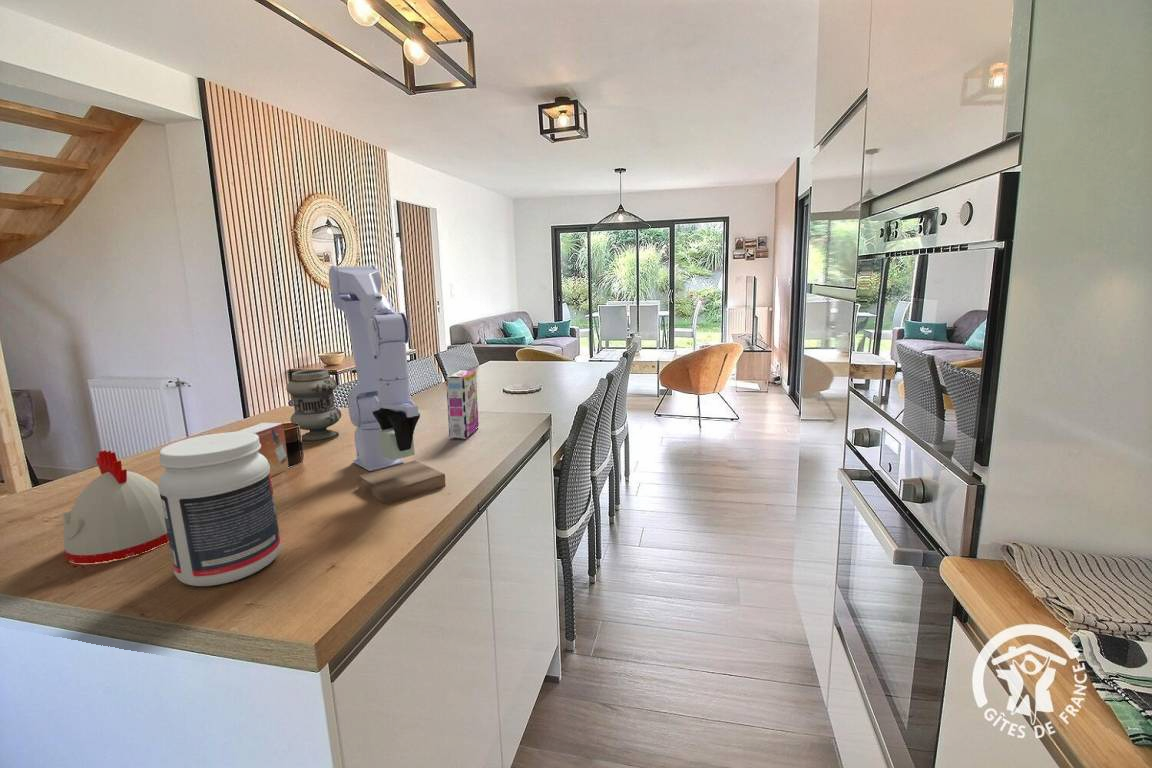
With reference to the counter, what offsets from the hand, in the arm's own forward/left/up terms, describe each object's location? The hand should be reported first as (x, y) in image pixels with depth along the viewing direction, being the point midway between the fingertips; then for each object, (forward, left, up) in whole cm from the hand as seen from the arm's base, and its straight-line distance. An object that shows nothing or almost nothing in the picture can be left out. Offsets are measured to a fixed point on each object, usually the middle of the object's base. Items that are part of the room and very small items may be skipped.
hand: (399, 447), depth 102 cm
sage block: (0, 0, -2) cm, 2 cm away
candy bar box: (-23, +29, -8) cm, 38 cm away
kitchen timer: (-11, -41, -8) cm, 43 cm away
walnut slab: (0, 0, -9) cm, 9 cm away
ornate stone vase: (-50, +1, -8) cm, 51 cm away
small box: (-29, -17, -8) cm, 35 cm away
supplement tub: (+10, -31, -8) cm, 34 cm away
